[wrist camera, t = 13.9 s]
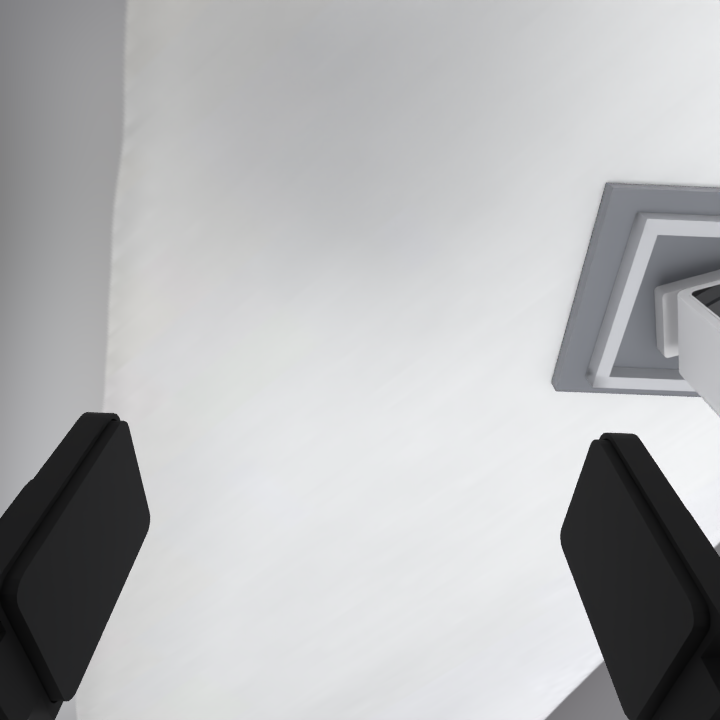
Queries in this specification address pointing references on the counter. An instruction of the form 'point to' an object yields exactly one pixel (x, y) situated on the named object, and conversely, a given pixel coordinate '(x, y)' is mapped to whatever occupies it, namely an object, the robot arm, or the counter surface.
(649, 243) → the mounting plate
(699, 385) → the security camera
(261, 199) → the counter surface
